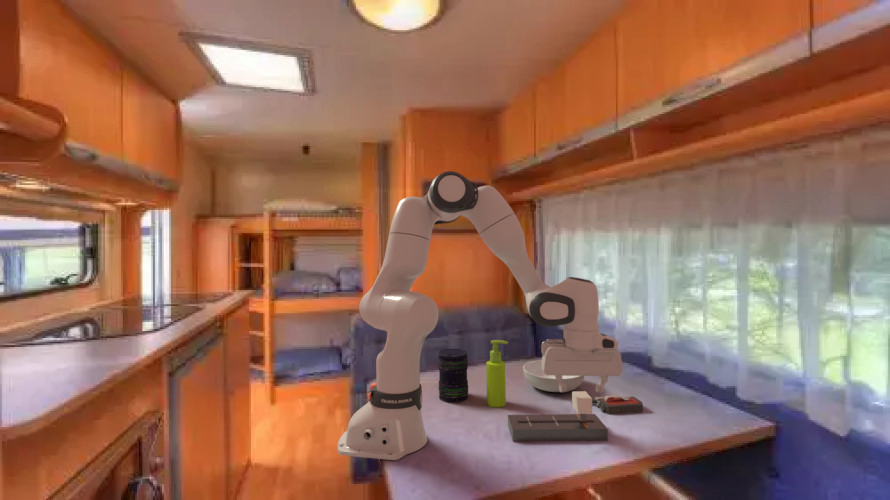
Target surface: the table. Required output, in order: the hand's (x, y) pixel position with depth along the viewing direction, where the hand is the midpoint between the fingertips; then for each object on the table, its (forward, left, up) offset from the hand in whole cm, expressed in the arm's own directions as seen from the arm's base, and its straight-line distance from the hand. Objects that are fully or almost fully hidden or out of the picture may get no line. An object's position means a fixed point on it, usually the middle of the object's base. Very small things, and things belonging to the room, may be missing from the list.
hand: (581, 391), depth 105 cm
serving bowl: (+1, +35, -11) cm, 37 cm away
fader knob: (0, +1, -8) cm, 8 cm away
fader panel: (-7, +1, -11) cm, 13 cm away
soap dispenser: (-20, +21, -11) cm, 31 cm away
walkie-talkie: (+13, +17, -12) cm, 24 cm away
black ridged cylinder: (-34, +27, -11) cm, 44 cm away
